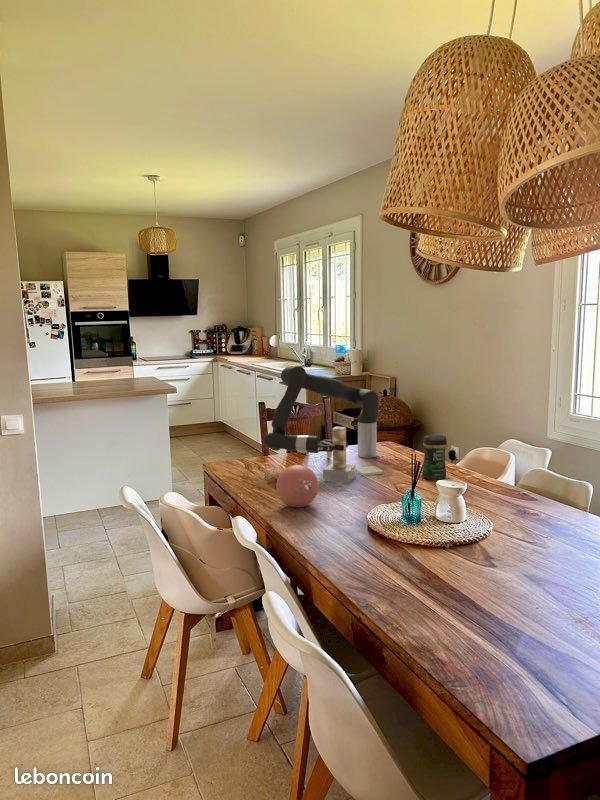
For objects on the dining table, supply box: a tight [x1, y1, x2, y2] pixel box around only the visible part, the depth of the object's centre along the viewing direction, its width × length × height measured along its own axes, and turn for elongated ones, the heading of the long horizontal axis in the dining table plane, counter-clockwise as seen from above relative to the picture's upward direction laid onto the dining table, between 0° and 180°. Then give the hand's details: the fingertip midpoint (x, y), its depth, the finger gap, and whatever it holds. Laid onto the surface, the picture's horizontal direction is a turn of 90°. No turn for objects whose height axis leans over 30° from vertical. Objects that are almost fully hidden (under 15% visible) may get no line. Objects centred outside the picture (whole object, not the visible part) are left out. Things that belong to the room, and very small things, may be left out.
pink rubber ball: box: [275, 464, 319, 508], centre depth 206 cm, size 15×20×15 cm
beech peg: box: [332, 426, 347, 469], centre depth 242 cm, size 4×4×20 cm
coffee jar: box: [421, 434, 448, 481], centre depth 241 cm, size 10×8×19 cm
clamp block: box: [322, 462, 356, 484], centre depth 243 cm, size 11×11×5 cm
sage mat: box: [355, 465, 384, 477], centre depth 253 cm, size 10×10×1 cm
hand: (345, 446), depth 241 cm, fingers closed on beech peg, 4 cm apart
